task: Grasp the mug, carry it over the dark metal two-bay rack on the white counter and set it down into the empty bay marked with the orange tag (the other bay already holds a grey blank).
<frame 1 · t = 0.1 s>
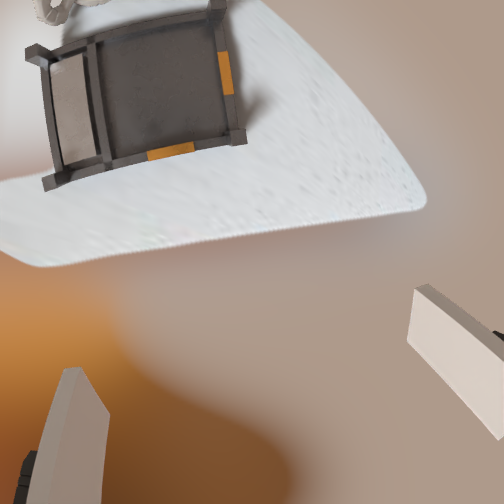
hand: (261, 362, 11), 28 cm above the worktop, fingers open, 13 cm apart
rack: (135, 93, 30), on the worktop
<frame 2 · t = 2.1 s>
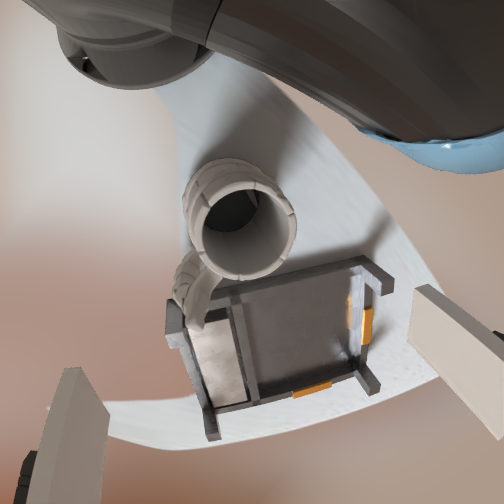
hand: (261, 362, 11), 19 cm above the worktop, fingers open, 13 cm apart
mug: (213, 217, 29), on the worktop
rack: (278, 339, 35), on the worktop
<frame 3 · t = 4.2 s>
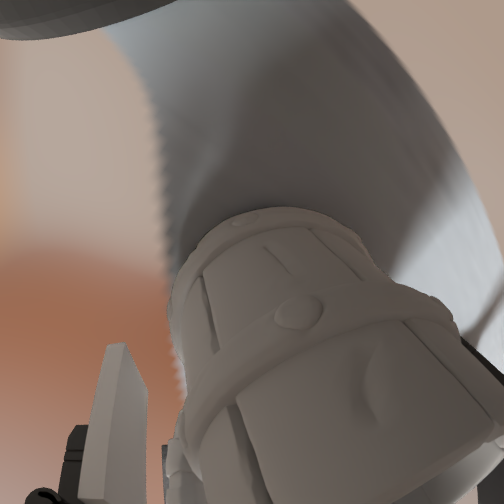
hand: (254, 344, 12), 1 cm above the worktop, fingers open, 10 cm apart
mug: (237, 328, 13), on the worktop, touching gripper
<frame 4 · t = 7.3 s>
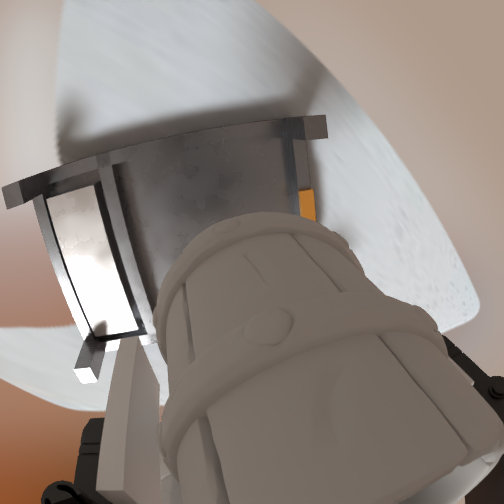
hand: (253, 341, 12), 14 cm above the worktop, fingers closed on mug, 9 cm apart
mug: (227, 333, 13), point 13 cm above the worktop, touching gripper
rack: (179, 238, 25), on the worktop
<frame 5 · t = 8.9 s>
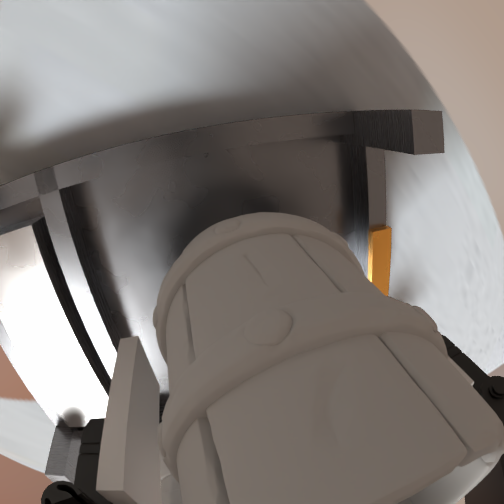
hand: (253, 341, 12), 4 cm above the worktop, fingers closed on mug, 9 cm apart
mug: (227, 333, 13), point 3 cm above the worktop, touching gripper
rack: (177, 300, 16), on the worktop
when the fingers open (4 cm above the worktop, at t = 10.0 s): mug drops 2 cm, resting on rack.
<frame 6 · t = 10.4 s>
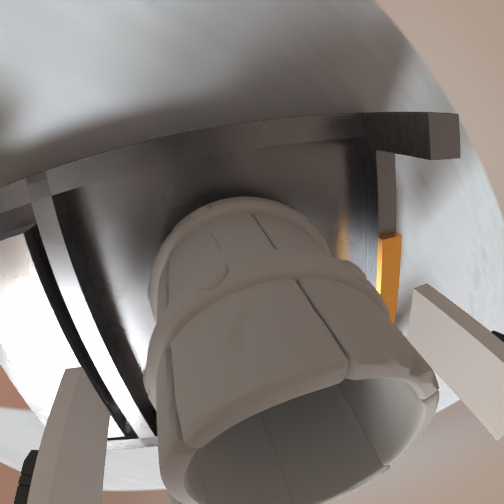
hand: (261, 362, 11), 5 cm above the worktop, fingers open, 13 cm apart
mug: (217, 307, 15), resting on rack
rack: (178, 310, 15), on the worktop
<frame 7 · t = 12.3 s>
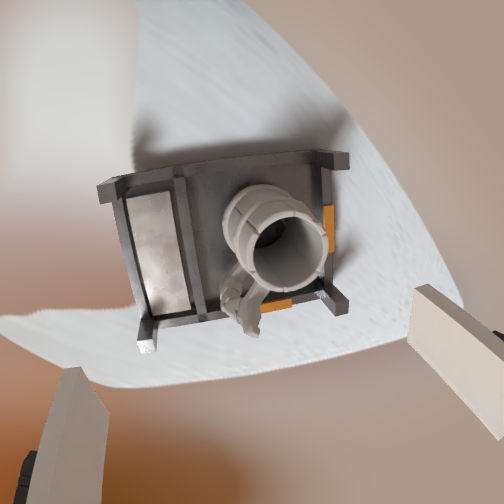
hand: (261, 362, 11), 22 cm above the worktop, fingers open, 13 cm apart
mug: (247, 236, 32), resting on rack
rack: (228, 237, 32), on the worktop
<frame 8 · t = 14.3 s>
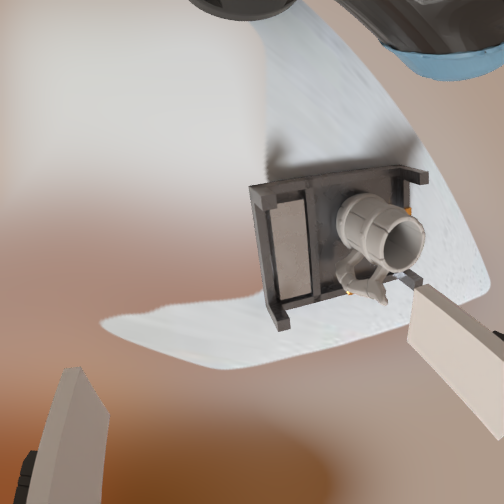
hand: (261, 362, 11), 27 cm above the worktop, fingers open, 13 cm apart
mug: (350, 232, 40), resting on rack
rack: (336, 234, 40), on the worktop
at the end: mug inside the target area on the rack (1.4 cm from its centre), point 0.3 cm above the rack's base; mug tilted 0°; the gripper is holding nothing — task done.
